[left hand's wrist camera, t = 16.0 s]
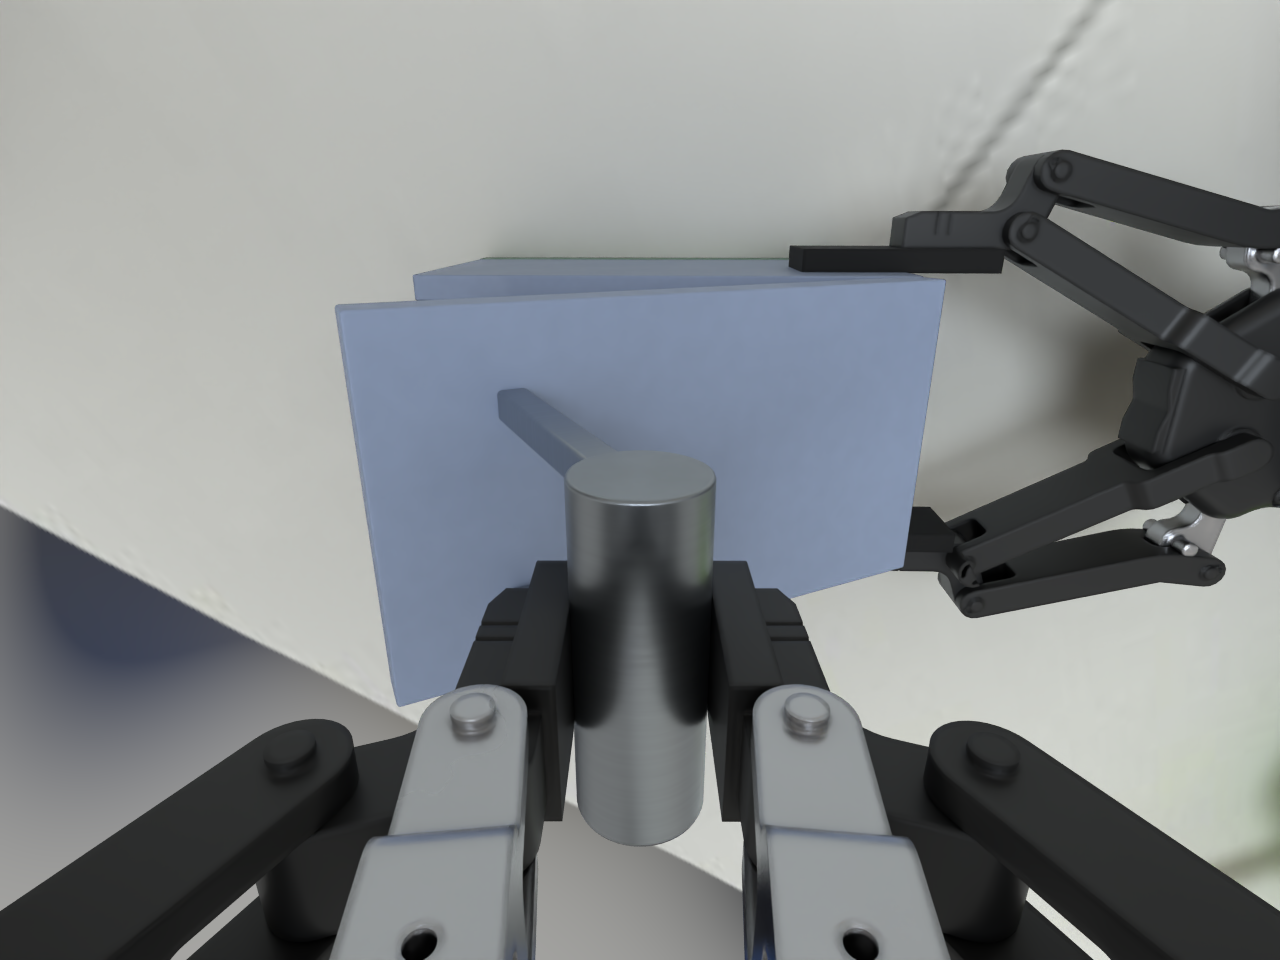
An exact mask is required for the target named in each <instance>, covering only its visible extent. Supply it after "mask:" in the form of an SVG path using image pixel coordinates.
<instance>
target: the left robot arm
mask: <svg viewBox="0 0 1280 960" xmlns="http://www.w3.org/2000/svg"><path fill="white" fill-rule="evenodd" d="M707 712H708V719H709V727H710V734H711V742H712V749H713V757H714V764H715V772H716V779H717V787H718V794H719V802H720V809H721V817H722V822H741V826H742V832H743V838H744V845H743V859H742V889H743V920H744V950H745V960H1093V959H1092V958H1091V957H1090V956H1089V955H1088V954H1086V953H1085V952H1084V951H1083V950H1082V949H1081V948H1080V947H1078V946H1077V945H1076V944H1075V943H1074V942H1073V941H1072V940H1071V939H1069V938H1068V937H1067V936H1066V935H1065V934H1064V933H1063V932H1062V931H1060V930H1059V929H1058V928H1057V927H1056V926H1055V925H1054V924H1052V923H1051V922H1050V921H1049V920H1048V919H1047V918H1046V917H1045V916H1043V915H1042V914H1041V913H1040V912H1039V911H1038V910H1037V909H1035V908H1034V907H1033V906H1032V905H1031V904H1030V903H1029V902H1028V901H1026V896H1027V893H1028V889H1029V887H1030V888H1031V889H1032V890H1033V891H1034V892H1035V893H1036V894H1038V895H1039V896H1040V897H1041V898H1042V899H1043V900H1045V901H1046V902H1047V903H1048V904H1049V905H1050V906H1052V907H1053V908H1054V909H1055V910H1056V911H1057V912H1058V913H1060V914H1061V915H1062V916H1063V917H1064V918H1065V919H1067V920H1068V921H1069V922H1070V923H1071V924H1072V925H1074V926H1075V927H1076V928H1077V929H1078V930H1079V931H1080V932H1082V933H1083V934H1084V935H1085V936H1086V937H1087V938H1089V939H1090V940H1091V941H1092V942H1093V943H1094V944H1096V945H1097V946H1098V947H1099V948H1100V949H1101V950H1102V951H1103V952H1104V953H1105V954H1106V955H1107V956H1108V957H1109V958H1110V959H1111V960H1280V911H1279V910H1277V909H1276V908H1274V907H1273V906H1271V905H1270V904H1268V903H1267V902H1265V901H1264V900H1262V899H1261V898H1260V897H1258V896H1257V895H1255V894H1254V893H1252V892H1251V891H1249V890H1248V889H1246V888H1245V887H1243V886H1242V885H1240V884H1239V883H1237V882H1236V881H1234V880H1233V879H1231V878H1230V877H1228V876H1227V875H1226V874H1224V873H1223V872H1221V871H1220V870H1218V869H1217V868H1215V867H1214V866H1212V865H1211V864H1209V863H1208V862H1206V861H1205V860H1203V859H1202V858H1200V857H1199V856H1197V855H1196V854H1194V853H1193V852H1192V851H1190V850H1189V849H1187V848H1186V847H1184V846H1183V845H1181V844H1180V843H1178V842H1177V841H1175V840H1174V839H1172V838H1171V837H1169V836H1168V835H1166V834H1165V833H1163V832H1162V831H1160V830H1159V829H1158V828H1156V827H1155V826H1153V825H1152V824H1150V823H1149V822H1147V821H1146V820H1144V819H1143V818H1141V817H1140V816H1138V815H1137V814H1135V813H1134V812H1132V811H1131V810H1129V809H1128V808H1126V807H1125V806H1124V805H1122V804H1121V803H1119V802H1118V801H1116V800H1115V799H1113V798H1112V797H1110V796H1109V795H1107V794H1106V793H1104V792H1103V791H1101V790H1100V789H1098V788H1097V787H1095V786H1094V785H1092V784H1091V783H1090V782H1088V781H1087V780H1085V779H1084V778H1082V777H1081V776H1079V775H1078V774H1076V773H1075V772H1073V771H1072V770H1070V769H1069V768H1067V767H1066V766H1064V765H1063V764H1061V763H1060V762H1058V761H1057V760H1056V759H1054V758H1053V757H1051V756H1050V755H1048V754H1047V753H1045V752H1044V751H1042V750H1041V749H1039V748H1038V747H1036V746H1035V745H1033V744H1032V743H1030V742H1029V741H1027V740H1026V739H1024V738H1022V737H1021V736H1019V735H1017V734H1015V733H1013V732H1011V731H1009V730H1007V729H1004V728H1001V727H999V726H995V725H992V724H988V723H983V722H977V721H956V722H951V723H948V724H945V725H943V726H941V727H939V728H938V729H937V730H936V731H935V732H934V733H933V734H932V736H931V738H930V744H929V747H926V746H922V745H917V744H913V743H909V742H904V741H900V740H896V739H892V738H888V737H884V736H881V735H879V734H876V733H873V732H871V731H869V730H867V729H865V728H863V727H862V725H861V721H860V719H859V716H858V714H857V713H856V711H855V710H854V709H853V708H852V706H851V705H850V704H849V703H847V702H846V701H845V700H844V699H842V698H841V697H839V696H837V695H836V694H834V693H832V692H830V690H829V687H828V685H827V682H826V680H825V677H824V675H823V672H822V670H821V667H820V664H819V662H818V659H817V657H816V654H815V652H814V649H813V647H812V644H811V642H810V641H809V637H808V634H807V632H806V629H805V627H804V626H803V622H802V619H801V617H800V614H799V611H798V609H797V606H796V604H795V603H794V602H793V601H792V600H790V599H789V598H788V597H787V596H786V595H785V594H783V593H782V592H781V591H780V590H779V589H778V588H755V586H754V583H753V580H752V576H751V573H750V570H749V566H748V563H747V561H713V578H712V602H711V626H710V650H709V674H708V699H707ZM574 724H575V711H574V687H573V662H572V637H571V613H570V600H569V591H568V567H567V560H538V561H537V562H536V565H535V568H534V572H533V575H532V578H531V582H530V585H529V588H506V589H505V590H503V591H502V592H501V593H500V594H499V595H498V596H497V597H495V598H494V599H493V600H492V601H491V602H490V603H488V605H487V608H486V611H485V613H484V616H483V618H482V621H481V626H479V629H478V631H477V634H476V637H475V641H474V642H473V644H472V647H471V649H470V652H469V655H468V657H467V660H466V662H465V665H464V668H463V670H462V673H461V675H460V678H459V681H458V683H457V686H456V688H455V690H453V691H451V692H448V693H446V694H444V695H443V696H441V697H439V698H438V699H436V700H435V701H434V702H433V703H431V704H430V705H429V706H428V707H427V708H426V710H425V711H424V713H423V714H422V716H421V718H420V721H419V724H418V728H417V730H415V731H413V732H411V733H408V734H406V735H403V736H400V737H396V738H392V739H388V740H384V741H379V742H375V743H371V744H366V745H362V746H358V747H354V745H353V739H352V735H351V734H350V732H349V730H348V729H347V728H346V727H345V726H343V725H341V724H339V723H337V722H334V721H331V720H325V719H308V720H301V721H295V722H292V723H288V724H285V725H282V726H279V727H277V728H274V729H272V730H270V731H268V732H266V733H264V734H262V735H261V736H259V737H257V738H256V739H254V740H253V741H251V742H250V743H248V744H247V745H245V746H244V747H242V748H241V749H239V750H238V751H236V752H235V753H233V754H232V755H230V756H229V757H227V758H226V759H224V760H223V761H222V762H220V763H219V764H217V765H216V766H214V767H213V768H211V769H210V770H208V771H207V772H205V773H204V774H202V775H201V776H199V777H198V778H196V779H195V780H194V781H192V782H190V783H189V784H188V785H186V786H185V787H183V788H182V789H180V790H179V791H177V792H176V793H174V794H173V795H171V796H170V797H168V798H167V799H165V800H164V801H162V802H161V803H159V804H158V805H156V806H155V807H154V808H152V809H151V810H149V811H148V812H146V813H145V814H143V815H142V816H140V817H139V818H137V819H136V820H134V821H133V822H131V823H130V824H128V825H127V826H126V827H124V828H123V829H121V830H120V831H118V832H117V833H115V834H114V835H112V836H111V837H109V838H108V839H106V840H105V841H103V842H102V843H100V844H99V845H97V846H96V847H94V848H93V849H91V850H90V851H88V852H87V853H86V854H84V855H83V856H81V857H80V858H78V859H77V860H75V861H74V862H72V863H71V864H69V865H68V866H66V867H65V868H63V869H62V870H60V871H59V872H57V873H56V874H54V875H53V876H52V877H50V878H49V879H47V880H46V881H44V882H43V883H41V884H40V885H38V886H37V887H35V888H34V889H32V890H31V891H29V892H28V893H26V894H25V895H23V896H22V897H20V898H19V899H18V900H16V901H15V902H13V903H12V904H10V905H9V906H7V907H6V908H4V909H3V910H1V911H0V960H170V959H171V958H172V957H173V956H174V955H175V953H176V952H177V951H178V950H179V949H180V948H181V947H182V946H183V945H184V944H186V943H187V942H188V941H189V940H190V939H191V938H193V937H194V936H195V935H196V934H197V933H198V932H200V931H201V930H202V929H203V928H204V927H205V926H206V925H208V924H209V923H210V922H211V921H212V920H213V919H215V918H216V917H217V916H218V915H219V914H220V913H222V912H223V911H224V910H225V909H226V908H227V907H229V906H230V905H231V904H232V903H233V902H234V901H235V900H237V899H238V898H239V897H240V896H241V895H242V894H244V893H245V892H246V891H247V890H248V889H249V888H251V887H252V886H253V885H254V884H255V883H256V886H257V889H258V893H259V896H258V897H257V898H256V899H255V900H254V901H252V902H251V903H250V904H249V905H248V906H247V907H246V908H245V909H243V910H242V911H241V912H240V913H239V914H238V915H237V916H235V917H234V918H233V919H232V920H231V921H230V922H229V923H228V924H226V925H225V926H224V927H223V928H222V929H221V930H220V931H219V932H217V933H216V934H215V935H214V936H213V937H212V938H211V939H209V940H208V941H207V942H206V943H205V944H204V945H203V946H202V947H200V948H199V949H198V950H197V951H196V952H195V953H194V954H192V955H191V956H190V957H189V958H188V959H187V960H535V948H536V916H537V885H538V861H537V852H538V850H539V846H540V842H541V836H542V829H543V823H544V821H562V819H563V811H564V803H565V795H566V787H567V779H568V771H569V763H570V755H571V748H572V740H573V732H574Z"/></svg>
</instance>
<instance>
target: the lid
mask: <svg viewBox="0 0 1280 960" xmlns="http://www.w3.org/2000/svg"><path fill="white" fill-rule="evenodd" d="M945 284H946V280H944V279H936V278H925V277H901V278H880V279H859V280H838V281H817V282H797V283H776V284H755V285H734V286H713V287H693V288H672V289H651V290H630V291H610V292H589V293H568V294H547V295H526V296H506V297H485V298H464V299H443V300H422V301H402V302H381V303H360V304H339V305H336V306H335V313H336V319H337V326H338V333H339V339H340V346H341V352H342V359H343V366H344V372H345V379H346V386H347V392H348V399H349V405H350V412H351V419H352V425H353V432H354V438H355V445H356V452H357V458H358V465H359V472H360V478H361V485H362V491H363V498H364V505H365V511H366V518H367V525H368V531H369V538H370V544H371V551H372V558H373V564H374V571H375V578H376V584H377V591H378V597H379V604H380V611H381V617H382V624H383V630H384V637H385V644H386V650H387V657H388V664H389V670H390V677H391V682H392V686H393V691H394V695H395V699H396V703H397V705H398V706H399V707H401V706H405V705H408V704H412V703H416V702H419V701H423V700H426V699H430V698H434V697H437V696H441V695H444V694H446V693H448V692H451V691H453V690H455V688H456V686H457V683H458V681H459V678H460V675H461V673H462V670H463V668H464V665H465V662H466V660H467V657H468V655H469V652H470V649H471V647H472V644H473V642H474V641H475V637H476V634H477V631H478V629H479V626H481V621H482V618H483V616H484V613H485V611H486V608H487V605H488V603H490V602H491V601H492V600H493V599H494V598H495V597H497V596H498V595H499V594H500V593H501V592H502V591H503V590H505V589H506V588H529V585H530V582H531V578H532V575H533V572H534V568H535V565H536V562H537V561H538V560H567V567H568V591H569V600H570V613H571V637H572V662H573V687H574V711H575V724H574V737H575V761H576V786H577V803H578V807H579V810H580V812H581V815H582V816H583V818H584V819H585V821H586V822H587V824H588V825H589V826H590V827H591V828H592V829H593V830H594V831H595V832H596V833H598V834H599V835H601V836H602V837H604V838H606V839H608V840H610V841H613V842H616V843H619V844H623V845H628V846H653V845H658V844H662V843H665V842H668V841H670V840H672V839H674V838H676V837H678V836H679V835H681V834H683V833H684V832H685V831H686V830H687V829H689V828H690V826H691V825H692V824H693V823H694V822H695V820H696V818H697V817H698V815H699V813H700V811H701V809H702V804H703V795H704V771H705V747H706V723H707V699H708V674H709V650H710V626H711V602H712V578H713V561H747V563H748V566H749V570H750V573H751V576H752V580H753V583H754V586H755V588H778V589H779V590H780V591H781V592H782V593H783V594H785V595H786V596H787V597H788V598H789V599H790V598H794V597H797V596H801V595H805V594H808V593H812V592H815V591H819V590H823V589H826V588H830V587H833V586H837V585H841V584H844V583H848V582H851V581H855V580H859V579H862V578H866V577H869V576H873V575H877V574H880V573H884V572H887V571H891V570H895V569H898V568H902V567H903V566H904V559H905V552H906V546H907V539H908V532H909V525H910V519H911V512H912V505H913V499H914V492H915V485H916V479H917V472H918V465H919V459H920V452H921V445H922V438H923V432H924V425H925V418H926V412H927V405H928V398H929V392H930V385H931V378H932V371H933V365H934V358H935V351H936V345H937V338H938V331H939V325H940V318H941V311H942V305H943V298H944V291H945Z"/></svg>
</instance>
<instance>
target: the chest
mask: <svg viewBox="0 0 1280 960" xmlns="http://www.w3.org/2000/svg"><path fill="white" fill-rule="evenodd" d="M788 266H789V258H483V259H480V260H476V261H472V262H467V263H463V264H459V265H454V266H450V267H446V268H441V269H437V270H433V271H428V272H424V273H419V274H415V275H413V282H414V291H415V299H416V300H417V301H422V300H443V299H464V298H485V297H506V296H526V295H547V294H568V293H589V292H610V291H630V290H651V289H672V288H693V287H713V286H734V285H755V284H776V283H797V282H817V281H838V280H859V279H880V278H901V277H923V276H920V275H915V274H911V273H907V272H800V271H798V270H795V269H793V268H790V267H788Z"/></svg>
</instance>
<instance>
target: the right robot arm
mask: <svg viewBox="0 0 1280 960" xmlns="http://www.w3.org/2000/svg"><path fill="white" fill-rule="evenodd" d="M1006 182H1007V184H1006V186H1005V188H1004V190H1003V192H1002V194H1001V196H1000V197H999V199H998V200H997V202H996V203H995V204H994V205H993V206H991V207H990V208H988V209H986V210H983V211H913V212H906V213H903V214H901V215H898V216H896V217H893V220H892V229H891V237H890V245H889V246H790V252H789V266H788V267H790V268H793V269H795V270H798V271H800V272H907V273H1001V272H1002V267H1003V261H1004V258H1005V259H1006V260H1008V261H1009V262H1011V263H1013V264H1014V265H1016V266H1018V267H1019V268H1021V269H1022V270H1024V271H1026V272H1027V273H1029V274H1030V275H1032V276H1034V277H1035V278H1037V279H1039V280H1040V281H1042V282H1043V283H1045V284H1047V285H1048V286H1050V287H1051V288H1053V289H1055V290H1056V291H1058V292H1060V293H1061V294H1063V295H1064V296H1066V297H1068V298H1069V299H1071V300H1072V301H1074V302H1076V303H1077V304H1079V305H1081V306H1082V307H1084V308H1085V309H1087V310H1089V311H1090V312H1092V313H1093V314H1095V315H1097V316H1098V317H1100V318H1102V319H1103V320H1105V321H1106V322H1108V323H1110V324H1111V325H1113V326H1114V327H1116V328H1117V329H1118V331H1119V332H1120V333H1121V334H1123V335H1124V336H1126V337H1127V338H1129V339H1131V340H1132V341H1134V342H1135V343H1137V344H1139V345H1140V346H1142V347H1144V348H1145V349H1147V350H1148V351H1149V353H1148V354H1147V356H1146V358H1138V359H1137V363H1136V367H1135V371H1134V375H1133V400H1132V402H1131V404H1130V406H1129V408H1128V409H1127V411H1126V413H1125V415H1124V417H1123V419H1122V423H1121V427H1120V431H1119V435H1118V438H1120V439H1119V440H1117V441H1114V442H1112V443H1110V444H1108V445H1105V446H1103V447H1101V448H1099V449H1096V450H1094V451H1092V452H1091V453H1090V454H1089V455H1088V459H1087V460H1086V461H1085V462H1083V463H1081V464H1078V465H1076V466H1074V467H1071V468H1069V469H1067V470H1064V471H1062V472H1060V473H1058V474H1055V475H1053V476H1051V477H1048V478H1046V479H1044V480H1042V481H1039V482H1037V483H1035V484H1032V485H1030V486H1028V487H1026V488H1023V489H1021V490H1019V491H1016V492H1014V493H1012V494H1010V495H1007V496H1005V497H1003V498H1000V499H998V500H996V501H994V502H991V503H989V504H987V505H984V506H982V507H980V508H978V509H975V510H973V511H971V512H968V513H966V514H964V515H962V516H959V517H957V518H955V519H952V520H950V521H948V522H946V523H944V522H943V521H942V519H941V518H940V517H939V516H938V515H937V514H936V513H935V512H934V511H933V510H932V509H931V507H912V512H911V519H910V525H909V532H908V539H907V546H906V552H905V559H904V566H903V567H902V568H898V569H895V570H891V571H898V570H900V571H934V572H939V573H938V581H939V583H940V585H941V586H942V587H943V589H944V590H945V591H946V593H947V594H948V595H949V597H950V598H951V599H952V601H953V602H954V603H955V605H956V606H957V607H958V609H959V610H960V611H961V613H962V614H964V615H965V616H966V617H969V618H979V617H984V616H989V615H995V614H1000V613H1005V612H1010V611H1015V610H1020V609H1025V608H1030V607H1035V606H1041V605H1046V604H1051V603H1056V602H1061V601H1066V600H1071V599H1076V598H1081V597H1087V596H1092V595H1097V594H1102V593H1107V592H1112V591H1117V590H1122V589H1127V588H1133V587H1138V586H1143V585H1148V584H1153V583H1158V582H1164V583H1173V584H1183V585H1193V586H1211V585H1214V584H1216V583H1217V582H1219V581H1220V580H1221V579H1222V578H1223V576H1224V575H1225V571H1226V567H1225V564H1224V563H1223V562H1222V561H1221V560H1219V559H1218V558H1216V557H1215V556H1213V555H1211V553H1212V551H1213V548H1214V546H1215V544H1216V541H1217V539H1218V537H1219V534H1220V532H1221V530H1222V527H1223V525H1224V523H1225V520H1226V519H1230V518H1235V517H1239V516H1241V515H1244V514H1246V513H1248V512H1251V511H1254V510H1257V509H1260V508H1265V507H1278V508H1280V206H1260V207H1259V206H1256V205H1253V204H1249V203H1246V202H1242V201H1239V200H1236V199H1232V198H1229V197H1226V196H1222V195H1219V194H1216V193H1212V192H1209V191H1205V190H1202V189H1199V188H1195V187H1192V186H1189V185H1185V184H1182V183H1178V182H1175V181H1172V180H1168V179H1165V178H1162V177H1158V176H1155V175H1151V174H1148V173H1145V172H1141V171H1138V170H1135V169H1131V168H1128V167H1124V166H1121V165H1118V164H1114V163H1111V162H1108V161H1104V160H1101V159H1097V158H1094V157H1091V156H1087V155H1084V154H1081V153H1077V152H1074V151H1070V150H1057V151H1052V152H1046V153H1040V154H1034V155H1029V156H1024V157H1021V158H1018V159H1017V160H1015V161H1014V162H1013V163H1012V164H1011V165H1010V167H1009V169H1008V170H1007V175H1006ZM1054 205H1058V206H1062V207H1065V208H1069V209H1072V210H1075V211H1079V212H1082V213H1086V214H1089V215H1093V216H1096V217H1099V218H1103V219H1106V220H1110V221H1113V222H1117V223H1120V224H1124V225H1127V226H1130V227H1134V228H1137V229H1141V230H1144V231H1148V232H1151V233H1154V234H1158V235H1161V236H1165V237H1168V238H1172V239H1175V240H1178V241H1182V242H1186V243H1190V244H1195V245H1204V246H1219V247H1221V250H1220V257H1221V258H1222V259H1224V260H1226V263H1227V264H1228V266H1229V267H1230V268H1232V269H1235V270H1240V271H1244V272H1245V273H1247V274H1248V276H1249V277H1250V280H1251V287H1250V288H1248V289H1245V290H1243V291H1241V292H1240V293H1238V294H1236V295H1235V296H1233V297H1231V298H1230V299H1228V300H1226V301H1225V302H1223V303H1221V304H1220V305H1218V306H1216V307H1215V308H1213V309H1211V310H1210V311H1208V312H1206V313H1205V314H1203V313H1200V312H1198V311H1195V310H1192V309H1190V308H1188V307H1186V306H1184V305H1183V304H1181V303H1179V302H1178V301H1176V300H1175V299H1173V298H1172V297H1170V296H1168V295H1167V294H1165V293H1164V292H1162V291H1161V290H1159V289H1157V288H1156V287H1154V286H1153V285H1151V284H1150V283H1148V282H1146V281H1145V280H1143V279H1142V278H1140V277H1139V276H1137V275H1135V274H1134V273H1132V272H1131V271H1129V270H1127V269H1126V268H1124V267H1123V266H1121V265H1120V264H1118V263H1116V262H1115V261H1113V260H1112V259H1110V258H1109V257H1107V256H1105V255H1104V254H1102V253H1101V252H1099V251H1098V250H1096V249H1094V248H1093V247H1091V246H1090V245H1088V244H1087V243H1085V242H1083V241H1082V240H1080V239H1079V238H1077V237H1076V236H1074V235H1072V234H1071V233H1069V232H1068V231H1066V230H1065V229H1063V228H1061V227H1060V226H1058V225H1057V224H1055V223H1053V222H1052V221H1050V220H1049V219H1047V218H1048V216H1049V214H1050V212H1051V210H1052V209H1053V207H1054ZM1177 499H1180V500H1181V501H1182V502H1183V503H1185V506H1184V508H1183V510H1182V511H1181V512H1180V513H1179V514H1178V515H1176V516H1175V517H1172V518H1169V519H1162V520H1158V521H1157V520H1155V519H1149V520H1147V521H1146V522H1144V524H1143V529H1118V530H1112V531H1106V532H1101V533H1096V534H1092V535H1087V536H1082V537H1077V538H1072V539H1067V540H1062V541H1058V540H1060V539H1063V538H1065V537H1067V536H1070V535H1072V534H1075V533H1077V532H1079V531H1082V530H1084V529H1086V528H1089V527H1091V526H1094V525H1096V524H1098V523H1101V522H1103V521H1106V520H1108V519H1110V518H1113V517H1115V516H1118V515H1120V514H1122V513H1125V512H1127V511H1130V510H1134V509H1141V510H1149V509H1155V508H1158V507H1161V506H1163V505H1165V504H1168V503H1170V502H1173V501H1175V500H1177ZM1055 541H1058V542H1055Z"/></svg>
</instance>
